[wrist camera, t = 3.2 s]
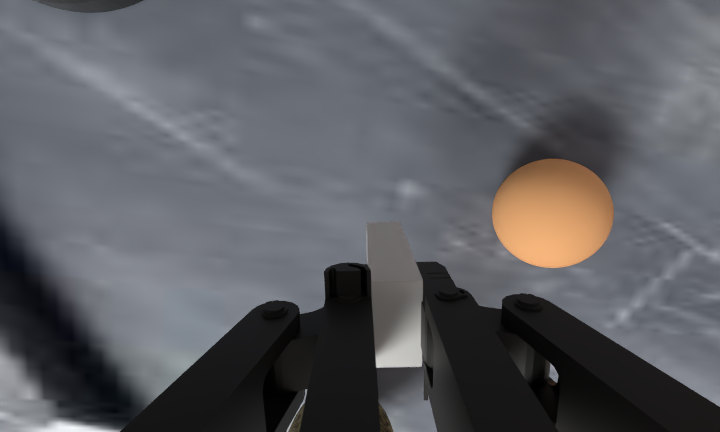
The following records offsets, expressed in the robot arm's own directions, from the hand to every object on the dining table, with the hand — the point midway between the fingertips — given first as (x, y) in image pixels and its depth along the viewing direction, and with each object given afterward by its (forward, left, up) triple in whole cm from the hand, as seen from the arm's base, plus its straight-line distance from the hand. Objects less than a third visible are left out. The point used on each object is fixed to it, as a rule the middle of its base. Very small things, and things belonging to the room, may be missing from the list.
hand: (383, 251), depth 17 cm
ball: (0, +9, -5) cm, 10 cm away
